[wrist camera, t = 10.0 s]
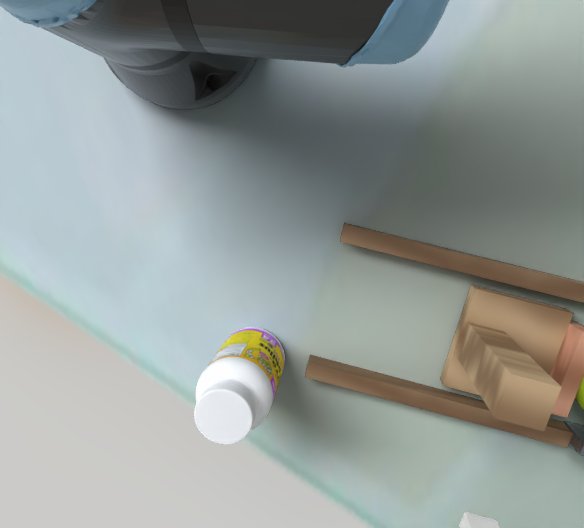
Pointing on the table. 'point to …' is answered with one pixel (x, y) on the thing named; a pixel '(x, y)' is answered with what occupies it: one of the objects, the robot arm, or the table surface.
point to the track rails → (428, 395)
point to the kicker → (516, 357)
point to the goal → (576, 436)
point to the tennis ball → (580, 394)
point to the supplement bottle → (239, 385)
